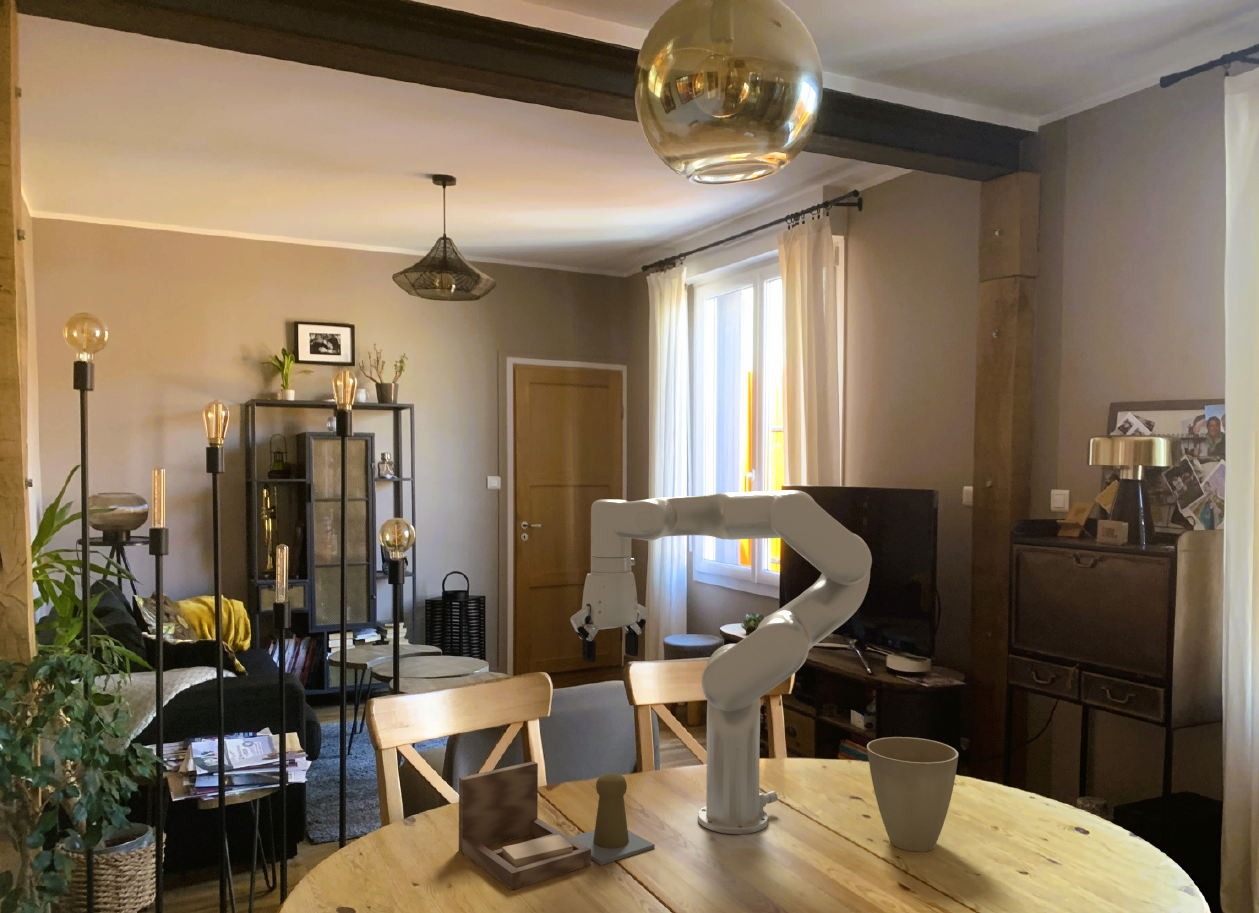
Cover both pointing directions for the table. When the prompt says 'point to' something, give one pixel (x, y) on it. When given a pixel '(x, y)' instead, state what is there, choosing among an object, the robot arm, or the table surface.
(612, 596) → the robot arm
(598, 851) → the slate mat
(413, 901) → the table surface
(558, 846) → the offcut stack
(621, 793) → the olive pawn
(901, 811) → the plant pot
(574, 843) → the open walnut box
